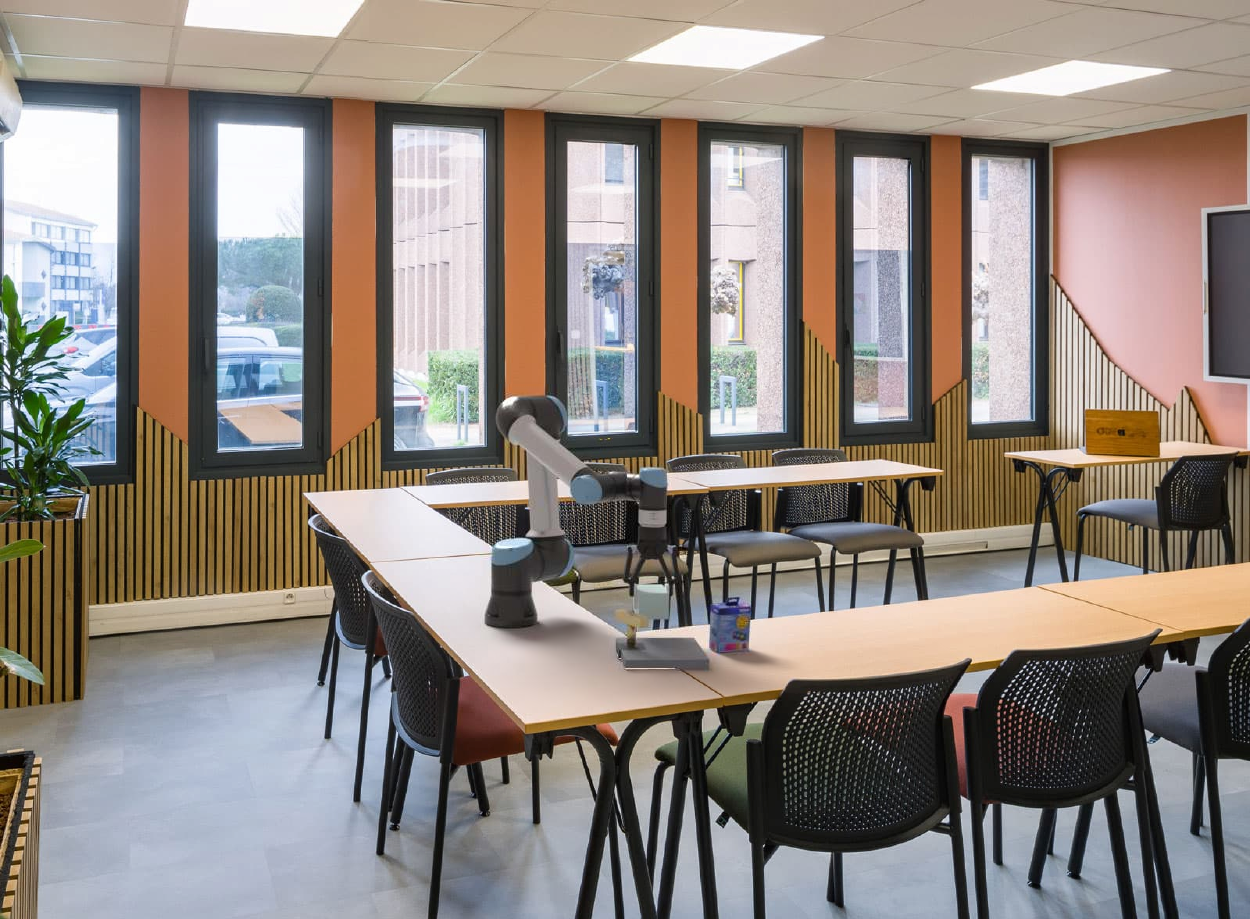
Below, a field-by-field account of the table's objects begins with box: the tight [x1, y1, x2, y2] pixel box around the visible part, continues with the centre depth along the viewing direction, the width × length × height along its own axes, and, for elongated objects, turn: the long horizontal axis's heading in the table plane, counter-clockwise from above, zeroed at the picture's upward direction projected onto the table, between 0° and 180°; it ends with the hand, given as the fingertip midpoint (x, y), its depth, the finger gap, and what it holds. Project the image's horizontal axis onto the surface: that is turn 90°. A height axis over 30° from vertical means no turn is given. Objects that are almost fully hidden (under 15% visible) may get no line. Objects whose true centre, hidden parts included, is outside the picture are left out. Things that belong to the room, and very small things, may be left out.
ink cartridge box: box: [708, 596, 752, 654], centre depth 309 cm, size 10×6×14 cm, turn 113°
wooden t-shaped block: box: [614, 608, 650, 646], centre depth 299 cm, size 3×11×8 cm, turn 35°
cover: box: [632, 584, 670, 620], centre depth 316 cm, size 12×8×7 cm, turn 7°
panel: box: [615, 637, 710, 671], centre depth 299 cm, size 22×22×3 cm
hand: (650, 608), depth 316 cm, fingers closed on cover, 8 cm apart
